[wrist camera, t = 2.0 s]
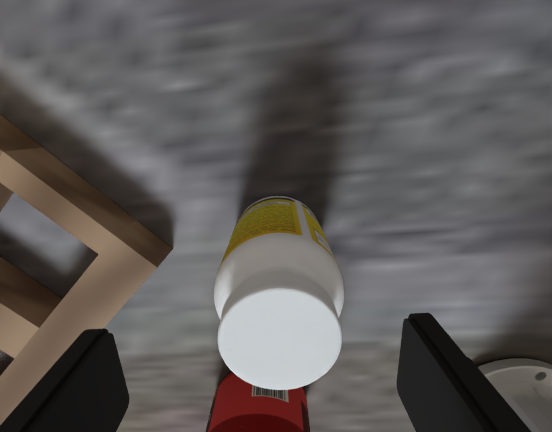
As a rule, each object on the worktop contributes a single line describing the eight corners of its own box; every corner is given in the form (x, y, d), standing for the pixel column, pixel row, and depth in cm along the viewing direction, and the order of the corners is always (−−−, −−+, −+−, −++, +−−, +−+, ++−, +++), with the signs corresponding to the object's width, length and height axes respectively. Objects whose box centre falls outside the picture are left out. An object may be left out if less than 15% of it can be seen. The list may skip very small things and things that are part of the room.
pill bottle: (222, 254, 22) (171, 374, 11) (256, 179, 20) (233, 238, 10) (297, 285, 23) (315, 426, 12) (335, 216, 21) (395, 308, 10)
